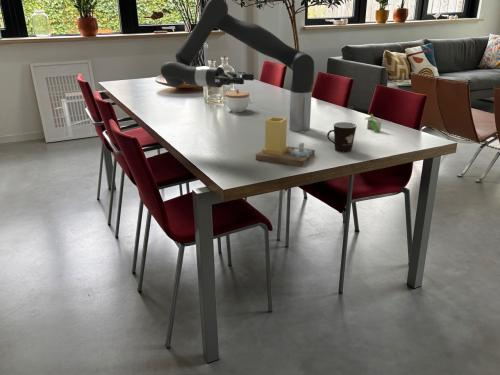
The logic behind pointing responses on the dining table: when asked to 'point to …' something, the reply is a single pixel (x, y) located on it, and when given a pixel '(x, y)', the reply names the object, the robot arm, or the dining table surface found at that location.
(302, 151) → the gear
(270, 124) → the yellow hollow block
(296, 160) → the gear board
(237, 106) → the lidded bowl
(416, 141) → the dining table surface
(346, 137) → the coffee mug
